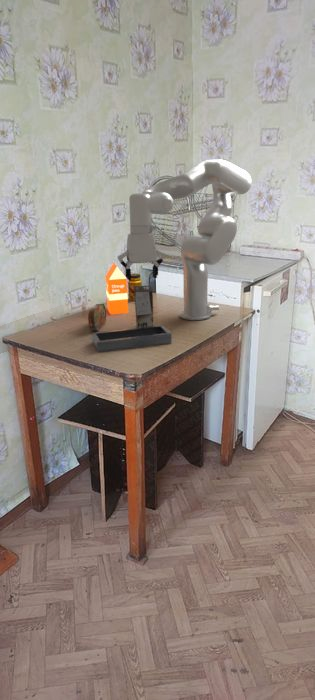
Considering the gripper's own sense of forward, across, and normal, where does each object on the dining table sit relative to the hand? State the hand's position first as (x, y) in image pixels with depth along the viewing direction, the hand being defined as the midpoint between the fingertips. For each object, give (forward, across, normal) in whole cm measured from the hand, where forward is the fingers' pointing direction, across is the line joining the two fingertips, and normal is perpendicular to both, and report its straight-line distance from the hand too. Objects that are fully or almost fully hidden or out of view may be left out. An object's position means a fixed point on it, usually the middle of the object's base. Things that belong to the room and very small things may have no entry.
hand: (142, 278), depth 188 cm
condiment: (+20, -8, -43) cm, 48 cm away
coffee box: (+20, -1, 0) cm, 20 cm away
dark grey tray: (+20, +7, +12) cm, 24 cm away
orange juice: (+20, +3, -29) cm, 36 cm away
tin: (+20, +15, -10) cm, 27 cm away
